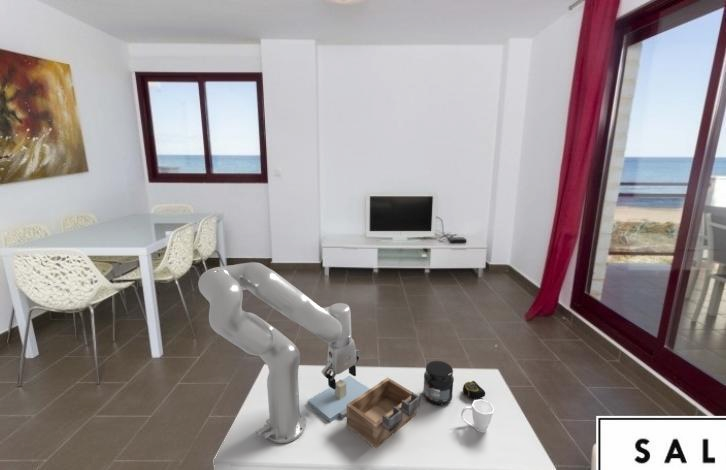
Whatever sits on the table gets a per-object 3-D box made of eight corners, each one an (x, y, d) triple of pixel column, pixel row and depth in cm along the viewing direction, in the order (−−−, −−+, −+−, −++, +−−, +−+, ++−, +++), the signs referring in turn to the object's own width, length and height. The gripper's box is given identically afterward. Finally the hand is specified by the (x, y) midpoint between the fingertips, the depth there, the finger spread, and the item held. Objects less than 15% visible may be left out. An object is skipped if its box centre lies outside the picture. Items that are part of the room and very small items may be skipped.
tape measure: (485, 399, 130) (486, 390, 129) (469, 403, 128) (470, 394, 127) (474, 387, 137) (475, 379, 136) (458, 391, 135) (459, 382, 134)
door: (333, 425, 118) (333, 408, 116) (307, 403, 127) (307, 388, 126) (375, 396, 131) (375, 380, 130) (349, 379, 141) (349, 364, 139)
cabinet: (383, 455, 106) (384, 425, 104) (346, 425, 118) (346, 398, 115) (423, 420, 120) (425, 393, 118) (387, 396, 131) (387, 371, 129)
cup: (493, 437, 113) (496, 415, 111) (461, 432, 115) (463, 411, 113) (490, 421, 120) (492, 400, 118) (459, 416, 122) (461, 396, 120)
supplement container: (443, 385, 137) (445, 357, 134) (457, 404, 128) (460, 374, 125) (418, 390, 135) (419, 361, 132) (430, 409, 125) (432, 379, 122)
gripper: (328, 353, 116) (330, 398, 120) (365, 332, 127) (366, 374, 132) (314, 344, 121) (317, 387, 126) (351, 325, 133) (352, 365, 137)
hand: (342, 380), depth 129 cm, fingers open, 9 cm apart
